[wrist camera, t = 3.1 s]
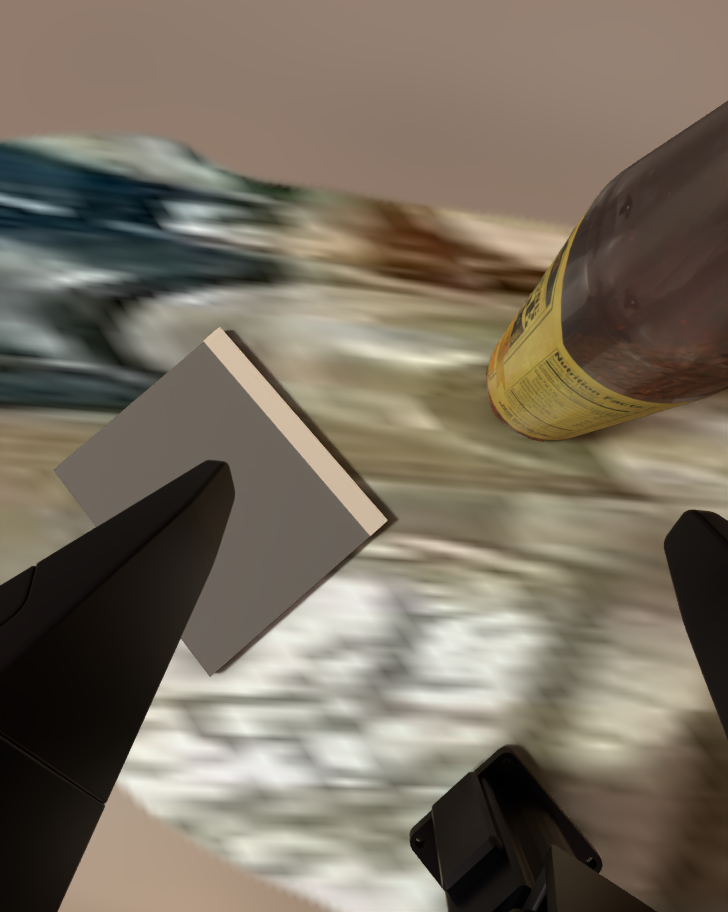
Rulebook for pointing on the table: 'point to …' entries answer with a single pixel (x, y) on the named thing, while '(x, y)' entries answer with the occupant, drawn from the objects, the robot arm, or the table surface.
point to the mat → (256, 489)
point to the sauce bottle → (627, 300)
